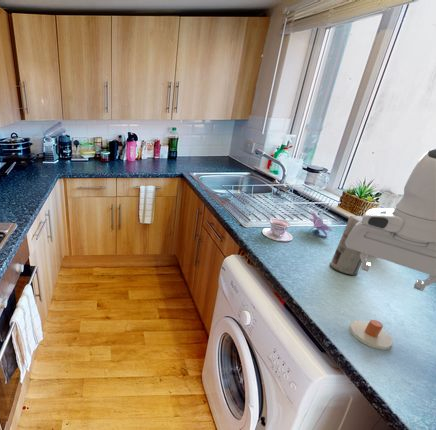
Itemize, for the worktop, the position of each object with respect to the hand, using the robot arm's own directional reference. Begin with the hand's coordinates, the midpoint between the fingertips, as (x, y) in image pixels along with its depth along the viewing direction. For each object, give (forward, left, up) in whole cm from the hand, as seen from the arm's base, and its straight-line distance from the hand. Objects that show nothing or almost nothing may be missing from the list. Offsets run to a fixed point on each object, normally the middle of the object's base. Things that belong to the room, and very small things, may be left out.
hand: (389, 278), depth 66 cm
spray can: (-5, -36, -19) cm, 41 cm away
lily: (-1, -63, -19) cm, 66 cm away
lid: (-3, -2, -19) cm, 19 cm away
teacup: (+15, -54, -19) cm, 59 cm away
